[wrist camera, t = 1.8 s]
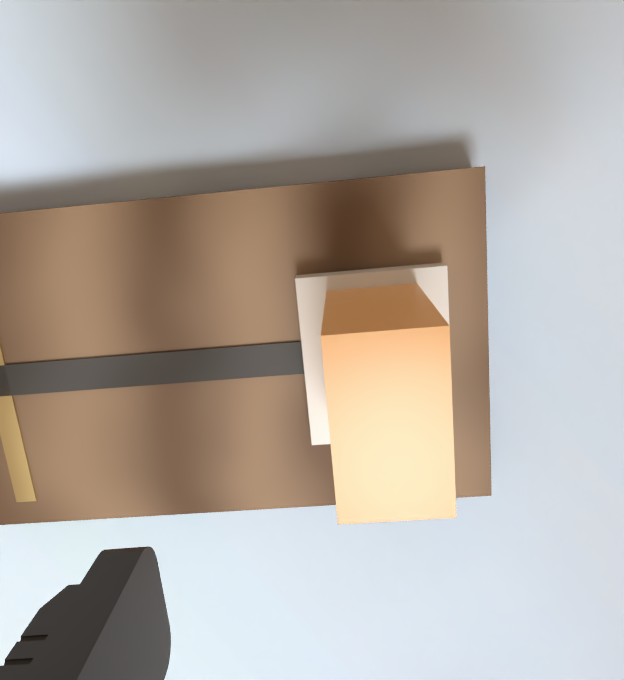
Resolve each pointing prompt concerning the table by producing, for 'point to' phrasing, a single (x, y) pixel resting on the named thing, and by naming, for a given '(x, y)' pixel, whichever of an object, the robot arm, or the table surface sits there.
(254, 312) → the fader board
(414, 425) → the fader tab
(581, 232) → the table surface
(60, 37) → the table surface
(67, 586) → the robot arm
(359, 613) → the table surface
